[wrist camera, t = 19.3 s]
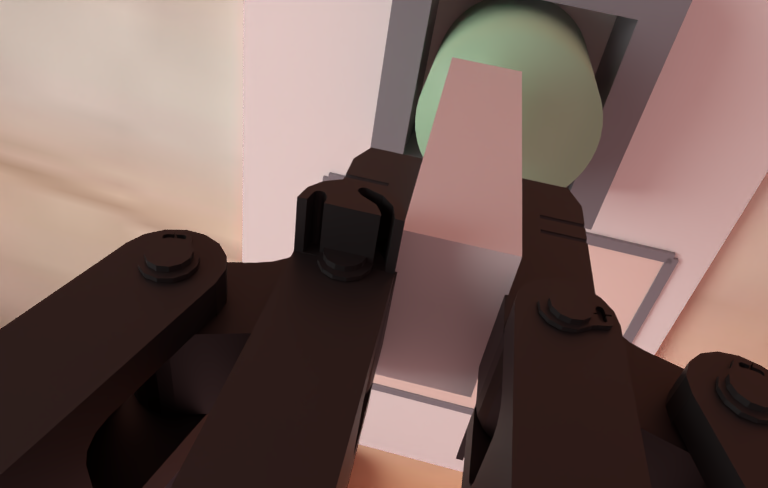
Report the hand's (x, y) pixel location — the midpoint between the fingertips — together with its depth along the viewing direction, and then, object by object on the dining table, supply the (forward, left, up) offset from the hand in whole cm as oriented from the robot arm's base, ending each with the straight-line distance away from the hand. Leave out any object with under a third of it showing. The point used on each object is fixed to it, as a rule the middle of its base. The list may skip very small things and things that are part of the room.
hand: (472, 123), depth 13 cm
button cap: (0, +1, -5) cm, 5 cm away
